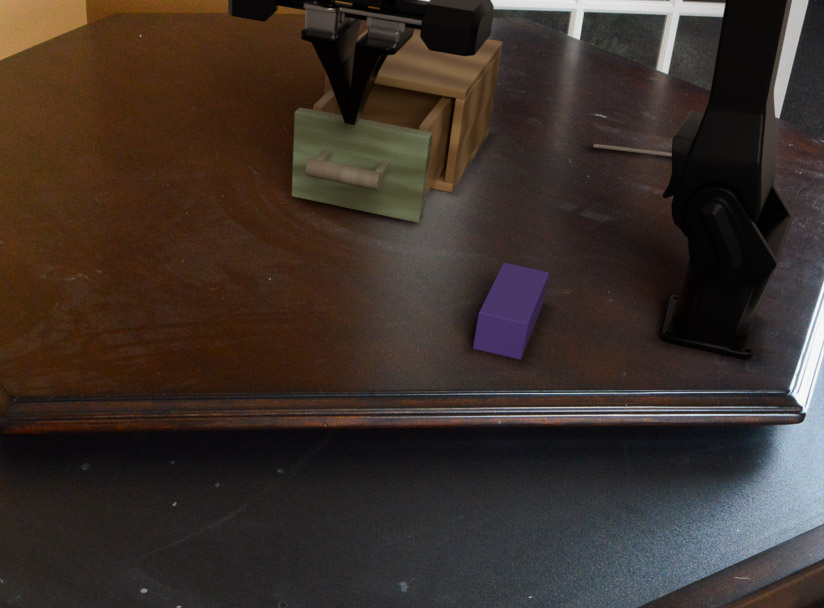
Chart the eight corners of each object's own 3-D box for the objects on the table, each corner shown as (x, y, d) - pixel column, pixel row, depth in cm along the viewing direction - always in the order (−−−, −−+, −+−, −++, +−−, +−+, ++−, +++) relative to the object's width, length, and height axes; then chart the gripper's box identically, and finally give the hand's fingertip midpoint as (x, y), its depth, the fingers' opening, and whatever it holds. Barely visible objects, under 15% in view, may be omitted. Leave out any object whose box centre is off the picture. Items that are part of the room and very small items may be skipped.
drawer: (404, 245, 85) (414, 157, 80) (272, 216, 87) (274, 130, 82) (458, 163, 97) (469, 83, 93) (342, 140, 100) (347, 62, 95)
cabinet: (451, 192, 95) (465, 90, 89) (320, 166, 98) (325, 65, 92) (488, 136, 105) (503, 41, 99) (368, 113, 108) (376, 20, 102)
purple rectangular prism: (541, 307, 80) (549, 272, 78) (520, 360, 74) (528, 323, 72) (497, 297, 81) (503, 262, 79) (472, 349, 75) (478, 312, 73)
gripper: (525, -107, 76) (491, 110, 86) (284, -140, 80) (278, 71, 90) (491, -75, 68) (457, 160, 78) (224, -113, 72) (225, 114, 82)
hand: (351, 123), depth 82 cm, fingers closed
